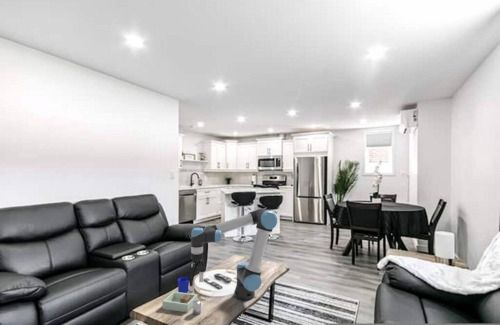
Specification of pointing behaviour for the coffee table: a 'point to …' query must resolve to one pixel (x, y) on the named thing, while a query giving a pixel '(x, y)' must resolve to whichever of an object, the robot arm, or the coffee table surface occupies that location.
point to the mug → (183, 285)
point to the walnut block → (185, 299)
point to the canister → (196, 307)
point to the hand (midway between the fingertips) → (196, 286)
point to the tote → (178, 302)
